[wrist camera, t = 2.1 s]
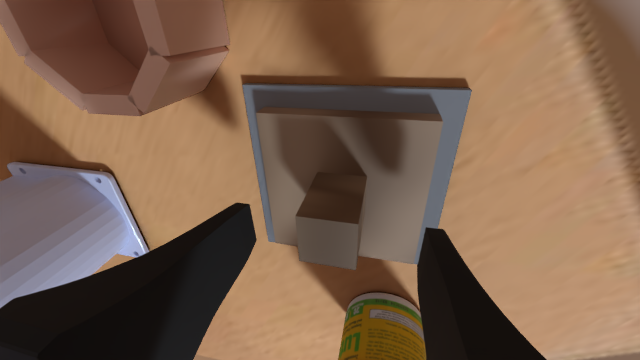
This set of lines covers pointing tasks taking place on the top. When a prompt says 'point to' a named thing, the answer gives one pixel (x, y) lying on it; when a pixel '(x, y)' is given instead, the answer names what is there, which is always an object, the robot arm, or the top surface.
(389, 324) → the supplement bottle
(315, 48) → the top surface
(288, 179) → the lid
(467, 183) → the top surface
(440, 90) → the mat
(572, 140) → the top surface
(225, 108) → the top surface
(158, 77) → the bowl
